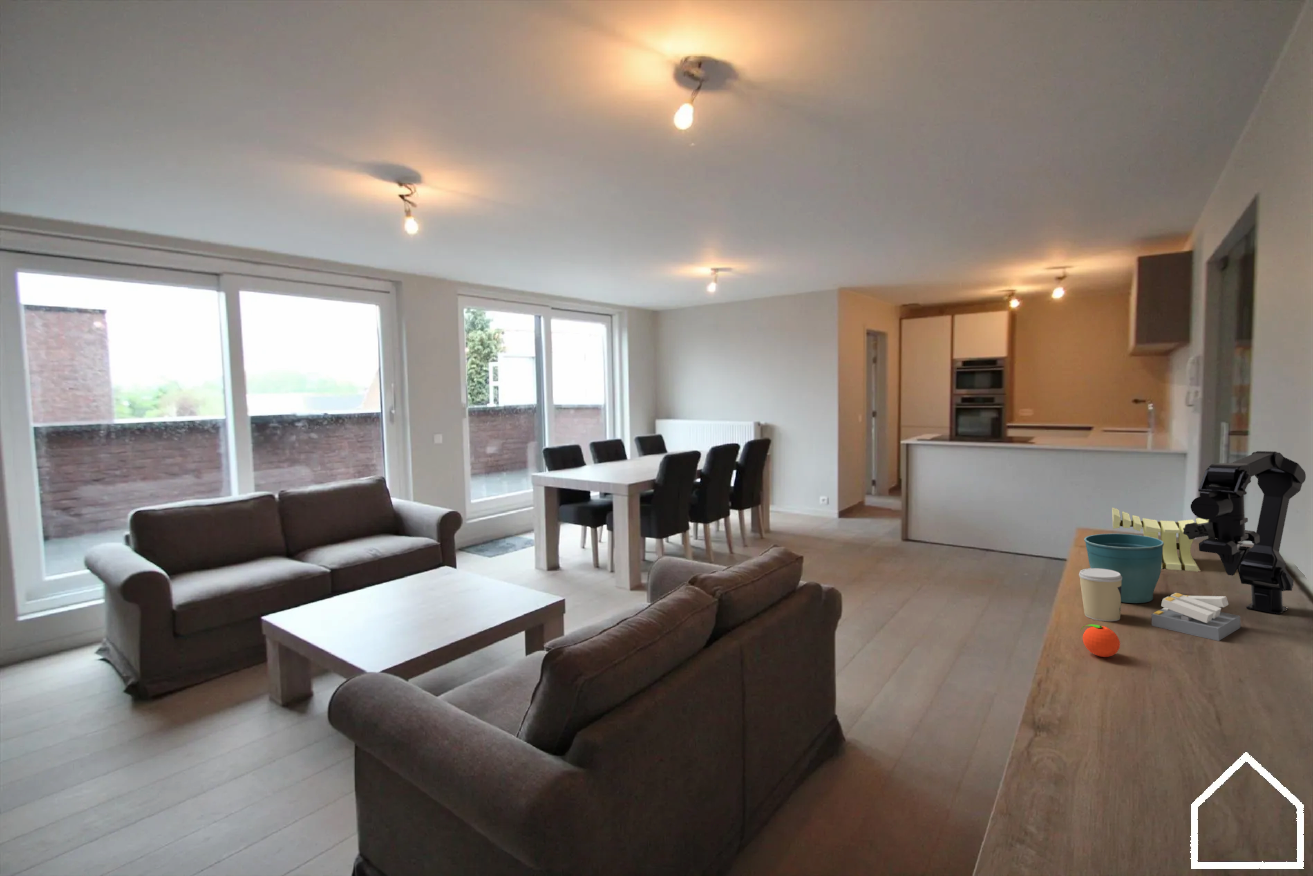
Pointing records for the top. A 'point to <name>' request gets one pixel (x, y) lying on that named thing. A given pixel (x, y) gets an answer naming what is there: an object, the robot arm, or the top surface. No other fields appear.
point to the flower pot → (1128, 562)
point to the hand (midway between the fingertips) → (1230, 575)
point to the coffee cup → (1101, 593)
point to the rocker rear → (1212, 600)
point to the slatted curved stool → (1164, 538)
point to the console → (1196, 624)
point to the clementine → (1101, 640)
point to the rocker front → (1187, 609)
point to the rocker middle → (1198, 604)
